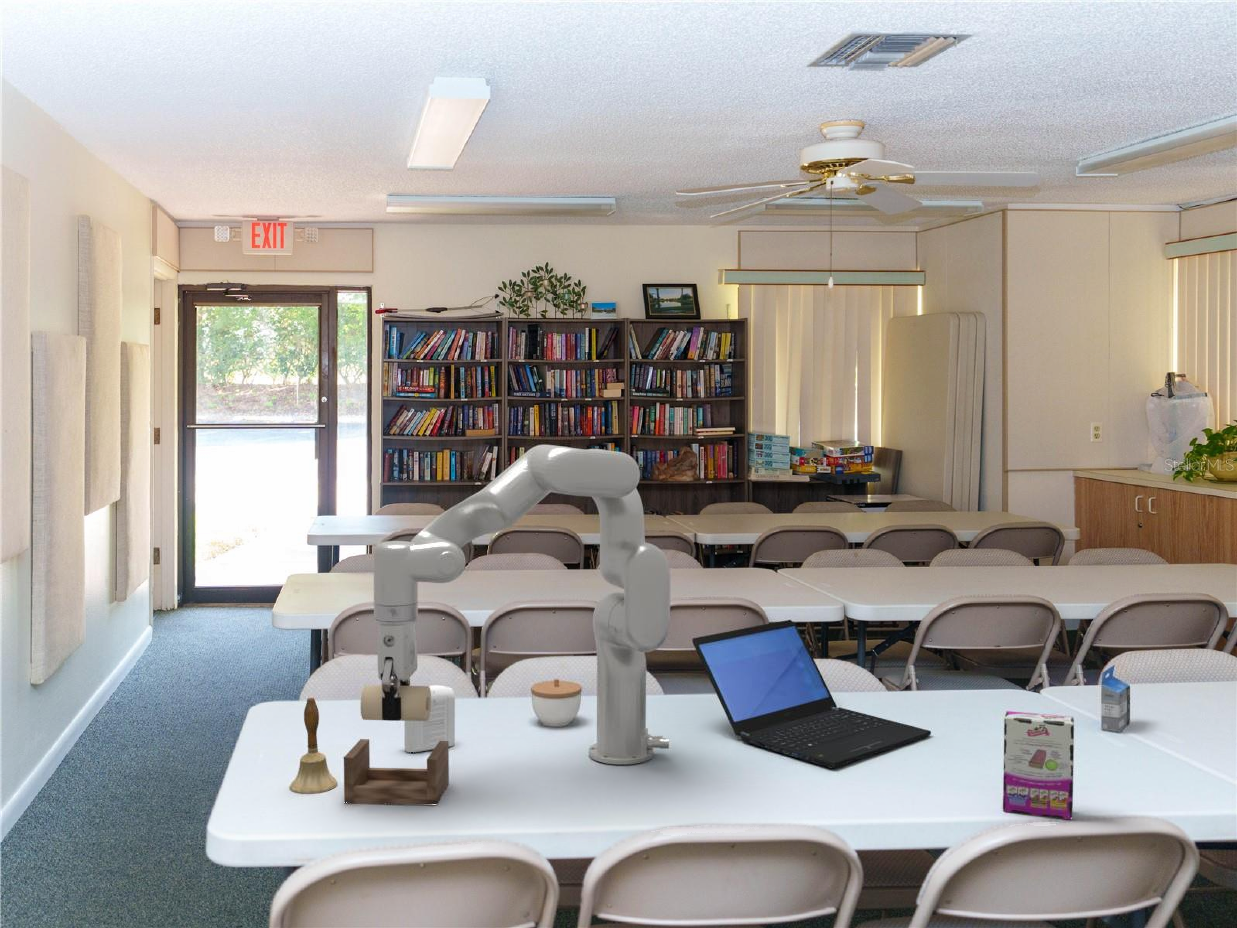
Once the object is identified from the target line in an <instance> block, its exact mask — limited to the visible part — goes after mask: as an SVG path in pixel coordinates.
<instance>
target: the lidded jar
mask: <svg viewBox="0 0 1237 928" xmlns="http://www.w3.org/2000/svg"><path fill="white" fill-rule="evenodd" d="M582 691H583V687H582V685H580V684H579V683H577V682H574V681H567V680H559V678H554V679H553V680H548V681H547V680H546V681H545V680H544V681H541V682H537V683H535V684H533V685H531V687H530V693H531V705H532V708H533V709H532V710H533V712H534V714H535V716H536V717H537V718H538V720H539V721H541V723H542V725H543V726H546V727H553V728H554V727H555V728H556V727H557V728H558V727H566V726H569V725H570V724H571V722H572V721H573V720H574V719H575V718H576V717H577V716H578V713H579V712H580V708H581V702H582Z"/></svg>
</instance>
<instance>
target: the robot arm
mask: <svg viewBox="0 0 1237 928" xmlns="http://www.w3.org/2000/svg"><path fill="white" fill-rule="evenodd" d="M640 476H641V472H640V467H639V465H638V463H637V461H636V460H635V459H634V458H633V456H631V455H629V454H627V453H625V452H623V451H616V450H615V451H613V450H608V449H600V448H589V449H584V448H583V449H582V448H577V447H576V448H574V447H568V446H561V445H552V444H538V445H536V446H534V447H531V448H530V449H528V450H527V451H526V452H525V453H523V454H522V455H521V456H520V457H519V458H517V459H516V460H515V461H514V462H513V463H512V464H511V465H509V466H508V467H507V468H506V469H504V470H503V471H502V472H501V473H500V474H499V475H498V476H496V477H495V478H494V479H493V480H492V481H490V482H489V483H488V484H487V485H486V486H485V487H483V488H482V489H481V490H479V491H478V492H476V493H474V494H473V495H470V496H469V497H467V498H465V499H464V500H463V501H461V502H459V503H457V504H455V505H453V506H451V507H450V508H449V509H447V510H446V511H443V513H440V515H438V516H437V517H436V518H435V519H433V520H432V521H430V523H429V524H427V525H426V526H425V527H424V528H422V529H421V530H420V531H419V532H418V533H417V534H416V535H415V536H414V537H413V538H412V539H411V541H404V540H390V541H389V540H388V541H383V542H379V543H377V544H376V545H375V546H374V549H373V622H374V623H375V624H377V625H378V638H377V641H378V642H377V676H378V679H379V680H380V681H381V685H382V719H383V720H382V721H387V722H388V721H390V722H392V721H394V722H395V721H396V722H398V721H399V720H400V719H401V697H399V691H400V686H411V677H412V676H413V675H414V673H415V672H417V669H418V650H417V649H418V647H417V631H416V622H418V620H419V617H418V616H419V610H418V609H419V602H418V601H419V599H418V598H419V597H418V596H419V592H418V591H419V590H418V589H419V586H418V584H419V583H433V584H445V583H450V582H453V581H454V580H456V579H458V578H459V577H460V576H461V575H462V574H463V572H464V570H465V568H466V556H465V554H464V552H463V550H462V548H463V547H464V546H466V545H467V544H469V542H471V541H473V540H475V539H477V538H478V539H479V537H482V536H485V535H489V534H492V533H496V532H499V531H503V530H505V529H508V528H510V527H512V526H514V525H515V524H516V523H517V522H518V521H519V520H521V519H522V518H523V516H525V515H526V514H527V513H528V512H530V511H531V510H532V509H533V508H534V507H535V506H536V505H537V504H539V502H541V501H542V500H543V499H544V498H545V497H547V496H548V495H549V494H551V493H555V494H558V495H559V494H560V495H561V494H562V495H567V496H568V495H569V496H576V497H590V498H592V500H593V501H594V503H595V505H596V507H597V511H598V515H599V569H600V575H601V576H602V578H603V580H605V582H606V583H609V584H610V585H612V586H614V587H617V588H620V589H623V592H612V593H609V594H607V595H604V596H603V597H602V598H601V599H600V600H599V601H598V602H597V603H596V606H595V608H594V609H593V615H592V629H593V635H594V641H595V648H596V649H595V650H596V671H597V672H596V673H597V674H596V743H593V744H592V745H591V746H589V747H588V756H589V757H590V758H591V759H592V760H594V761H596V762H599V763H603V764H608V765H624V766H625V765H634V764H635V765H636V764H640V763H644V762H648V761H650V760H651V759H652V758H653V757H654V753H655V752H654V749H655V748H656V749H663V750H664V749H669V747H670V738H665V737H664V736H663V735H652V734H651V733H650V734H649V728H647V714H646V713H647V659H646V653H650V652H654V651H655V650H657V649H659V648H660V647H661V646H662V645H663V644H664V642H665V641H666V639H667V636H668V633H669V628H670V624H671V623H670V620H671V569H670V564H669V561H668V558H667V556H666V555H665V553H664V552H663V550H661V548H659V547H657V546H656V545H654V544H652V543H650V542H646V536H645V534H646V533H645V517H644V516H645V514H644V506H643V503H642V499H641V496H640V493H639V491H638V489H637V486H638V484H639V482H640V479H641V477H640ZM392 684H394V685H395V687H394V685H392Z"/></svg>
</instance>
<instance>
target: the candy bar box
mask: <svg viewBox="0 0 1237 928" xmlns="http://www.w3.org/2000/svg"><path fill="white" fill-rule="evenodd" d="M1005 711H1006V712H1005V714H1004V719H1003V725H1004V726H1003V741H1004V742H1003V776H1002V777H1003V778H1002V779H1003V780H1002V781H1003V782H1002V783H1003V784H1002V785H1003V794H1002V811H1003V812H1005V813H1010V814H1011V813H1013V814H1020V815H1026V816H1027V815H1028V816H1034V817H1035V816H1036V817H1045V818H1054V819H1062V820H1069V819H1071V818H1072V819H1073V811H1074V810H1073V804H1074V764H1075V763H1074V758H1075V756H1074V752H1075V751H1074V749H1075V742H1074V741H1075V717H1074V716H1069V715H1068V716H1067V715H1065V716H1064V715H1057V714H1056V715H1055V714H1044V713H1036V712H1035V713H1033V712H1024V711H1023V712H1022V711H1010V710H1005ZM1072 819H1071V820H1072Z"/></svg>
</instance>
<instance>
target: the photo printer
mask: <svg viewBox="0 0 1237 928" xmlns="http://www.w3.org/2000/svg"><path fill="white" fill-rule="evenodd" d="M428 686H429V687H430V691H431V710H430V715H429V719H428V721H404V751H405V752H406V753H409V752H410V753H411V752H413V753H419V752H424V751H430V750H434V748H435V747H436V745H437V744H438V743H439V741H449V747H453V746H455V743H456V742H455V740H456V738H455V735H456V734H455V733H456V731H455V730H456V729H455V726H456V725H455V723H456V722H455V721H456V720H455V719H456V714H455V713H456V705H455V704H456V698H455V691H454V690H453V688H451V687H449V686H445V685H436V684H434V685H428ZM410 753H409V754H410ZM411 754H412V753H411Z"/></svg>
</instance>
